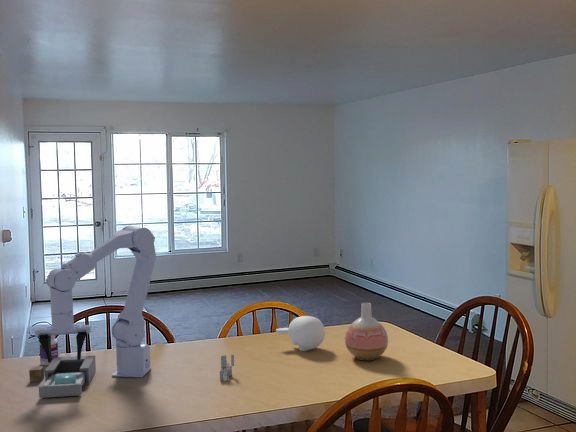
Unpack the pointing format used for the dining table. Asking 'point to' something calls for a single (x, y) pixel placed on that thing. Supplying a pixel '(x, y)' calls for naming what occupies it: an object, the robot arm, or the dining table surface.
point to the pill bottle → (53, 350)
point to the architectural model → (226, 368)
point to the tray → (62, 387)
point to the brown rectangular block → (36, 374)
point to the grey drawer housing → (72, 367)
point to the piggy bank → (305, 332)
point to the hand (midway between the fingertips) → (64, 359)
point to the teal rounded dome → (65, 379)
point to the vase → (366, 336)
